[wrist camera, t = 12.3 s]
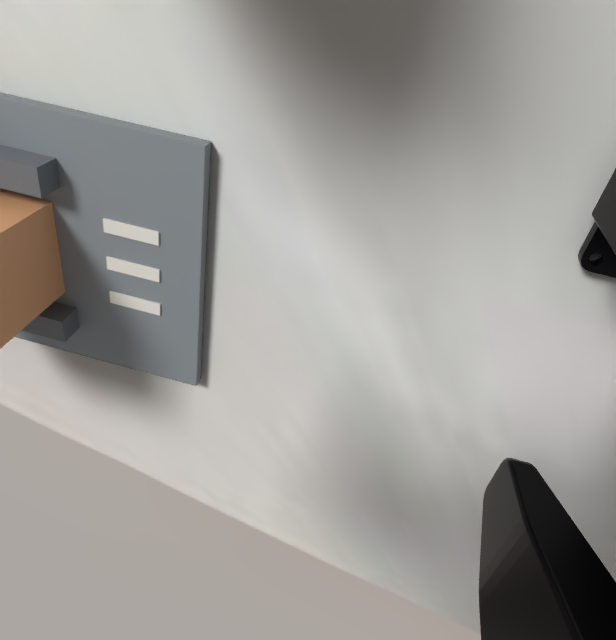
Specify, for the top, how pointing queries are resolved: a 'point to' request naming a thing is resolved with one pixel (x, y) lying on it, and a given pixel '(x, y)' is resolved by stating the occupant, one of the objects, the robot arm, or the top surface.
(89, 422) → the top surface
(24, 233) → the block
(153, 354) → the flat gray board
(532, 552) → the robot arm
